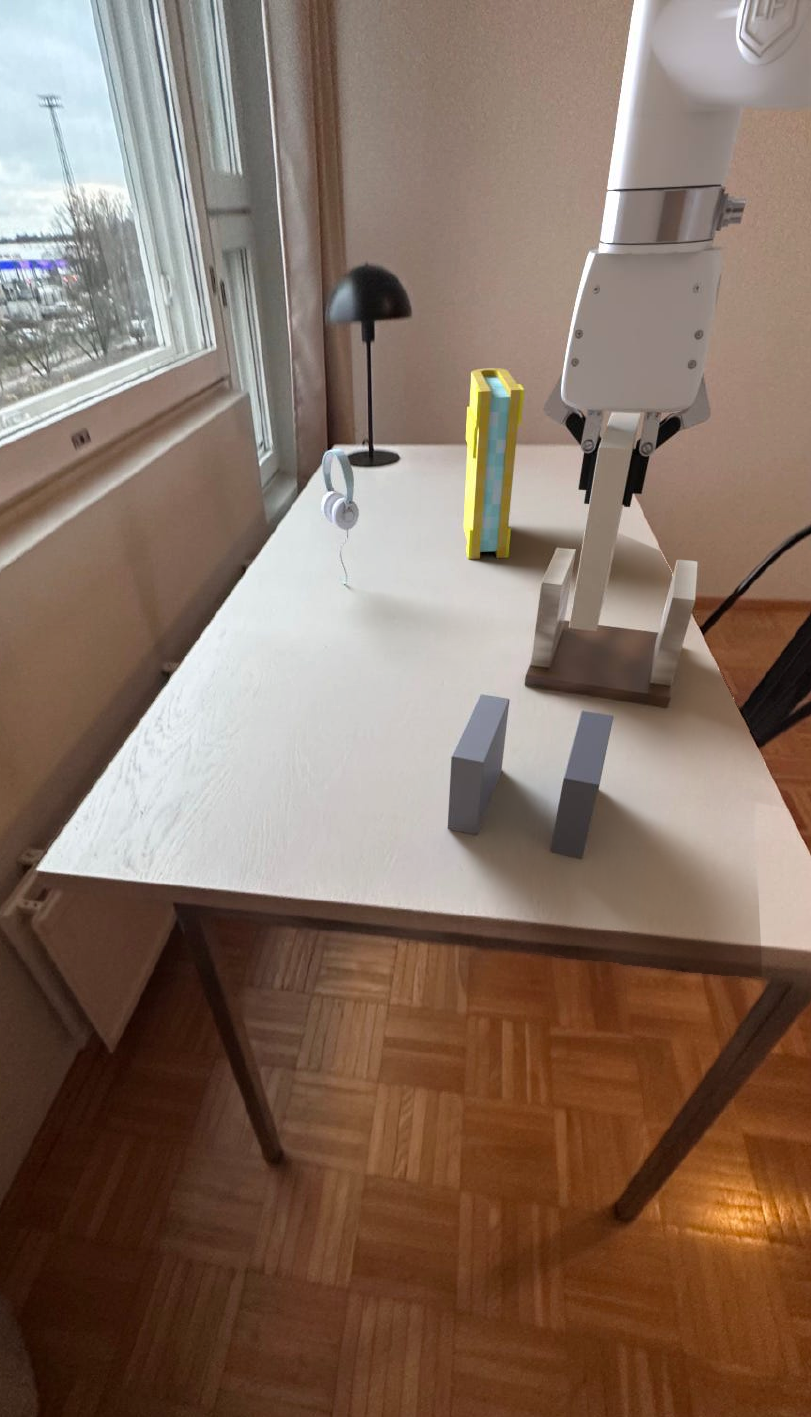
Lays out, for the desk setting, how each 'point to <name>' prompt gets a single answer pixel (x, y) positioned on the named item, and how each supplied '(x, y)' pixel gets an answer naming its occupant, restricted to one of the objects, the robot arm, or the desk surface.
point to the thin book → (603, 519)
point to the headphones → (339, 495)
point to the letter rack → (608, 643)
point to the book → (490, 460)
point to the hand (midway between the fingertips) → (608, 498)
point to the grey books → (482, 765)
